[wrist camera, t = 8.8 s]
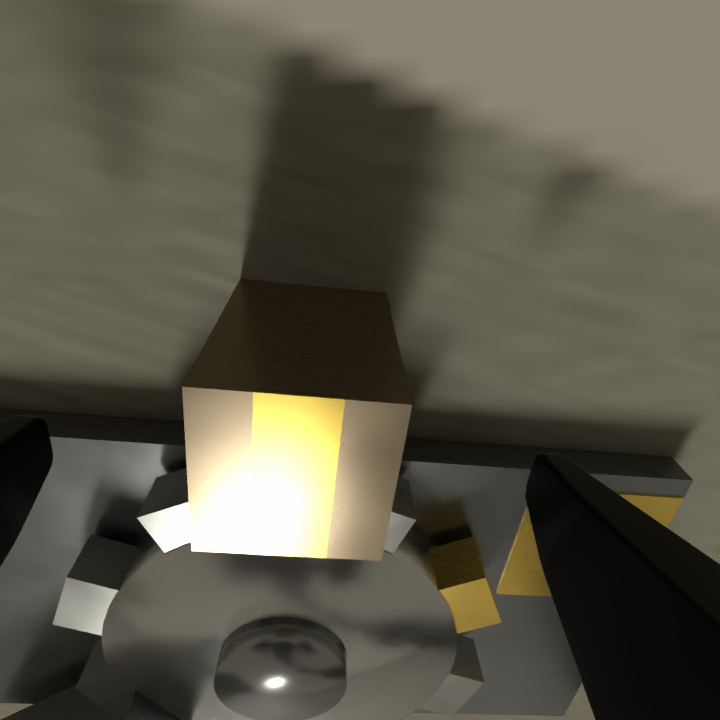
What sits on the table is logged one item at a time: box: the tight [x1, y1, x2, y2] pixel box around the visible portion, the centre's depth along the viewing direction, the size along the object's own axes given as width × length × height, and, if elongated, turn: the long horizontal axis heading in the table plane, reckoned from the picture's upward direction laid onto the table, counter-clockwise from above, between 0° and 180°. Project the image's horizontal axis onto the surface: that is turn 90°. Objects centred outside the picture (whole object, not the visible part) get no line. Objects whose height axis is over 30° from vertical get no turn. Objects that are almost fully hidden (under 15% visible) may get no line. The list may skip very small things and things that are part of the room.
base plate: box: [0, 409, 693, 716], centre depth 16 cm, size 22×12×1 cm, turn 83°
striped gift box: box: [182, 279, 412, 561], centre depth 11 cm, size 4×4×5 cm
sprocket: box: [1, 468, 502, 720], centre depth 15 cm, size 18×12×4 cm
